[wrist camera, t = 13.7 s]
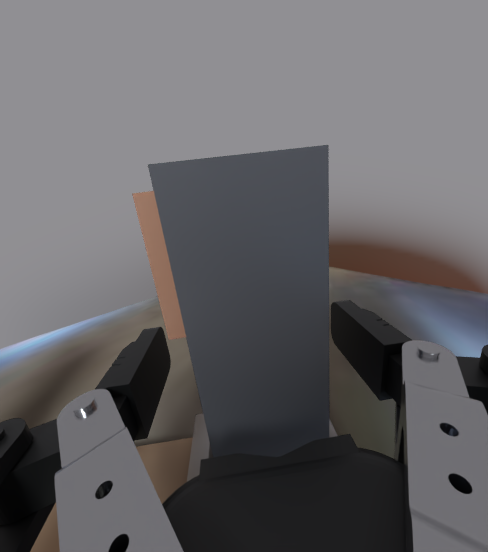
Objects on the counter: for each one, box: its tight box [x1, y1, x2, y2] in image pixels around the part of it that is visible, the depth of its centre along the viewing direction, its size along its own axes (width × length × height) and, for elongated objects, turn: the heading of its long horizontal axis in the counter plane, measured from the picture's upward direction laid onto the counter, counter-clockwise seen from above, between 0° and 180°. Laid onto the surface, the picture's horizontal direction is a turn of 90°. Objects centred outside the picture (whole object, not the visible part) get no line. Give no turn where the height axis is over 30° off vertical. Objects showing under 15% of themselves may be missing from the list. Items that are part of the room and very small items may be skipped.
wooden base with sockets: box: [30, 413, 338, 552], centre depth 11 cm, size 28×9×4 cm, turn 95°
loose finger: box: [132, 145, 329, 457], centre depth 9 cm, size 5×4×16 cm
